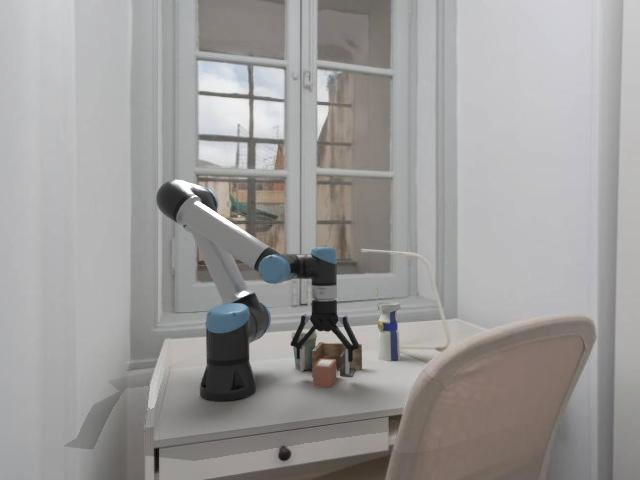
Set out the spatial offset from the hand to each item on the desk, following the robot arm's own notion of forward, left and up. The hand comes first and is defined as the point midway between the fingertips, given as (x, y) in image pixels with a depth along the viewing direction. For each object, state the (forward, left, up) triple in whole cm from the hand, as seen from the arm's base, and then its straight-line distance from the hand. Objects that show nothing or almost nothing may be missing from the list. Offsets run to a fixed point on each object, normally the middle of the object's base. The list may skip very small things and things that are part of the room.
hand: (324, 371), depth 120 cm
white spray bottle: (+17, +28, -3) cm, 33 cm away
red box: (0, 0, -3) cm, 3 cm away
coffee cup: (-9, +12, -3) cm, 16 cm away
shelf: (+2, +9, -3) cm, 10 cm away
